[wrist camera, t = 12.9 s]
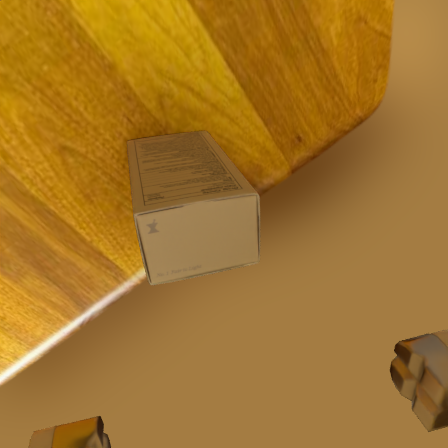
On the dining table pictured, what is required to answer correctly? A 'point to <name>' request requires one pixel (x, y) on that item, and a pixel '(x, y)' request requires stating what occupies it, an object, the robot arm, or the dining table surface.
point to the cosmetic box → (191, 207)
